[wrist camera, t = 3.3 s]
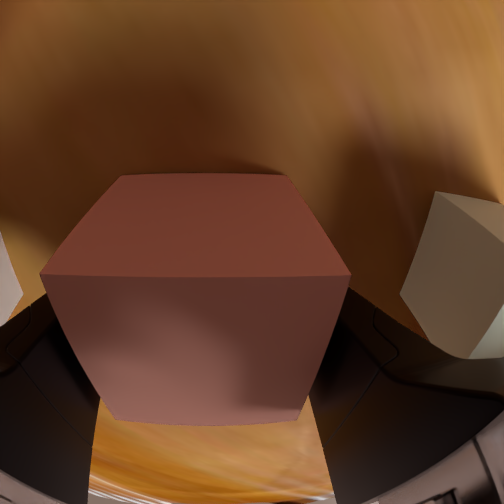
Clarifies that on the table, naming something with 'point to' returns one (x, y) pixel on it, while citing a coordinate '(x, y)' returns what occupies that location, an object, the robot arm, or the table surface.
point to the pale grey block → (7, 285)
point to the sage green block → (460, 277)
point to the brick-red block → (199, 297)
